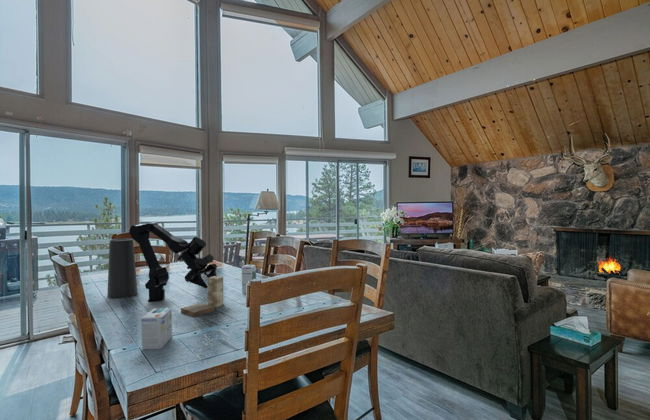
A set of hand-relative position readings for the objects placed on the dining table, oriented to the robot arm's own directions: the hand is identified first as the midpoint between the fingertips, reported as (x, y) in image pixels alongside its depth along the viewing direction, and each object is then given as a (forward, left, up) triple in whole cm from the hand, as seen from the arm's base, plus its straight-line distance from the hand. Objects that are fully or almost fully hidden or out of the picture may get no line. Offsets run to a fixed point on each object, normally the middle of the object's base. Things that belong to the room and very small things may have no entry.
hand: (212, 285), depth 169 cm
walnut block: (-6, -10, -10) cm, 15 cm away
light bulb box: (-16, -43, -9) cm, 46 cm away
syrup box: (+17, +18, -9) cm, 27 cm away
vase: (-47, +30, -9) cm, 57 cm away
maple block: (+1, -1, -9) cm, 9 cm away
